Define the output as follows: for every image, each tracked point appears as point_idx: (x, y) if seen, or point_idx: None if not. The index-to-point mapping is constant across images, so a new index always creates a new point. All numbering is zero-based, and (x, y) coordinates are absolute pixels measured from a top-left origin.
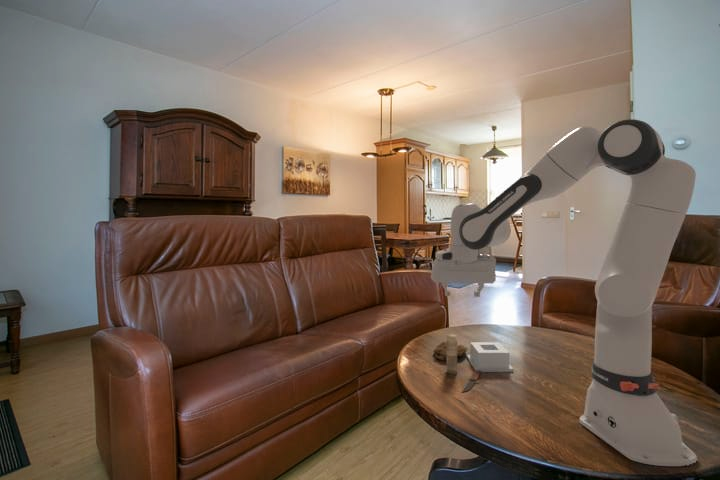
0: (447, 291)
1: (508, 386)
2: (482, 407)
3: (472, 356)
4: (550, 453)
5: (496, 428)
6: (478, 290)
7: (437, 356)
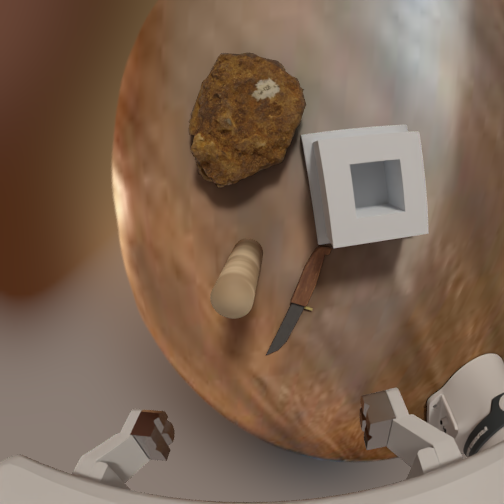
0: (147, 457)
1: (376, 312)
2: (298, 394)
3: (317, 168)
4: (353, 453)
5: (306, 432)
6: (394, 447)
7: (202, 176)
